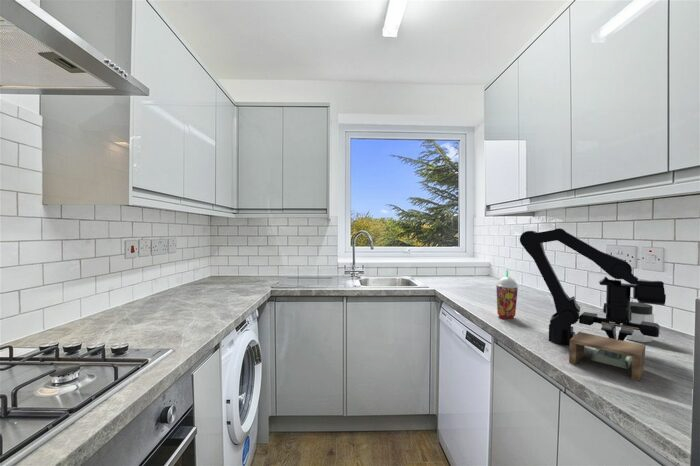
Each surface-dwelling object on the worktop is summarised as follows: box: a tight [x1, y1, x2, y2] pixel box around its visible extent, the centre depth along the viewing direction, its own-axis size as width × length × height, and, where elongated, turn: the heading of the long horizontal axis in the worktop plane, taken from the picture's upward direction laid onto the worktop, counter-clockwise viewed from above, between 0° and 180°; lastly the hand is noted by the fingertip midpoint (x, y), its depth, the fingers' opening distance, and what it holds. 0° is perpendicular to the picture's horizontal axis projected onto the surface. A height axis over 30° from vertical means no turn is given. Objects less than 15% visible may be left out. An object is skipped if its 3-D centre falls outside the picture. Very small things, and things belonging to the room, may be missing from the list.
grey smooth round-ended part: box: [604, 350, 619, 359], centre depth 95 cm, size 3×3×4 cm
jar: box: [619, 301, 655, 343], centre depth 117 cm, size 9×8×12 cm
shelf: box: [568, 331, 646, 382], centre depth 92 cm, size 15×10×7 cm, turn 43°
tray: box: [591, 348, 632, 370], centre depth 97 cm, size 8×12×3 cm, turn 134°
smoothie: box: [495, 270, 519, 320], centre depth 142 cm, size 8×8×20 cm
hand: (616, 351), depth 102 cm, fingers closed, pressing on tray
